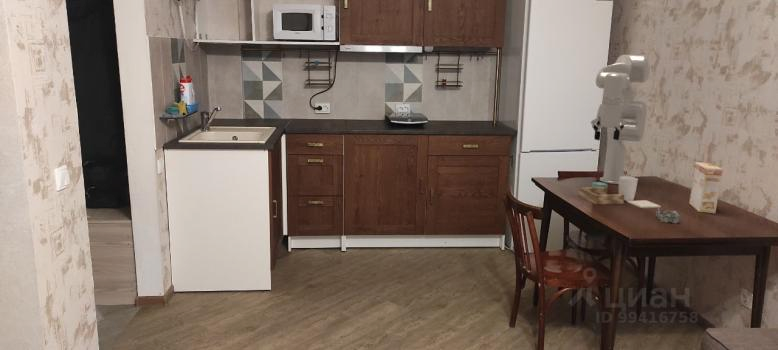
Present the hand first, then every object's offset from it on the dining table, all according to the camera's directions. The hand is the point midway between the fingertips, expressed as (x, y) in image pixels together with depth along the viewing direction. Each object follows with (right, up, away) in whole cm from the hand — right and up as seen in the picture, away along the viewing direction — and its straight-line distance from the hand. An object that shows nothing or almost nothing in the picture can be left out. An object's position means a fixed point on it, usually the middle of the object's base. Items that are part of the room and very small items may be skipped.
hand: (606, 139), depth 269 cm
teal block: (+2, -25, +15) cm, 29 cm away
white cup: (+11, -27, +6) cm, 30 cm away
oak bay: (-1, -27, +3) cm, 27 cm away
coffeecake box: (+41, -31, -4) cm, 51 cm away
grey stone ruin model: (+16, -35, -24) cm, 45 cm away
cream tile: (+16, -29, -3) cm, 33 cm away
